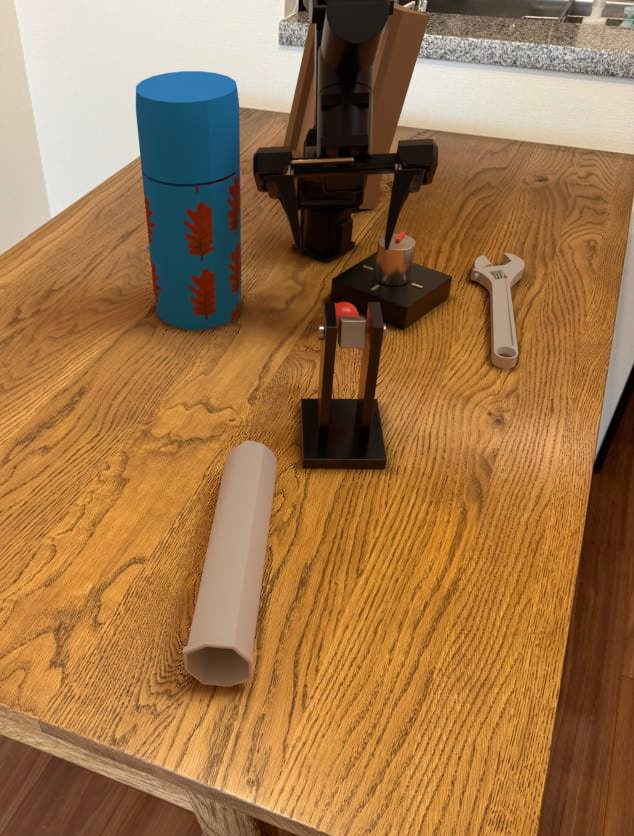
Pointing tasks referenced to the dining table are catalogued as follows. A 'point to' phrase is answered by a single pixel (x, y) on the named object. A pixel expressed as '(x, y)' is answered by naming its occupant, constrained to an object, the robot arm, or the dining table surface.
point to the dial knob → (395, 260)
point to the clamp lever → (350, 326)
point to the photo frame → (387, 87)
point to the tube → (233, 570)
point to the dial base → (392, 292)
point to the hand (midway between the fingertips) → (342, 250)
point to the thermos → (192, 195)
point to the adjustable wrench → (500, 305)
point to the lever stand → (345, 404)
